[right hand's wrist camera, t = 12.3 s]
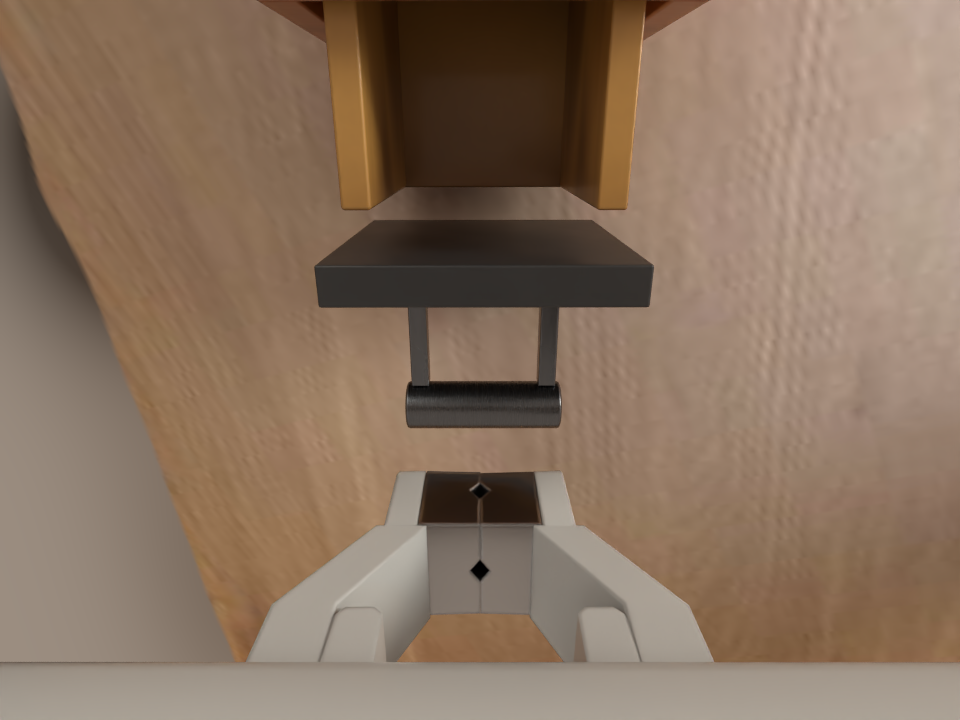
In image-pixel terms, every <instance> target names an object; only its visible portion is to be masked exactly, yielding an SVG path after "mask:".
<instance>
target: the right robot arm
mask: <svg viewBox="0 0 960 720" xmlns="http://www.w3.org/2000/svg"><path fill="white" fill-rule="evenodd" d="M474 613H484V614H520V615H530V618H531V619H532V621H533V622H534V623H535V625H536V626H537V627H538V629H539V630H540V631H541V632H542V634H543V635H544V636H545V638H546V639H547V640H548V642H549V643H550V644H551V646H552V647H553V648H554V650H555V651H556V652H557V653H558V655H559V656H560V657H561V659H562V660H563V661H564V662H397V660H398V659H399V658H400V657H401V655H402V654H403V653H404V651H405V650H406V649H407V647H408V646H409V645H410V643H411V642H412V641H413V640H414V638H415V637H416V636H417V634H418V633H419V632H420V630H421V629H422V628H423V626H424V625H425V624H426V623H427V621H428V620H429V619H430V615H440V614H474ZM0 720H960V662H714V660H713V658H712V656H711V653H710V651H709V649H708V647H707V644H706V642H705V640H704V638H703V636H702V633H701V631H700V629H699V627H698V624H697V622H696V620H695V618H694V615H693V613H692V611H691V609H690V607H689V605H688V604H687V603H685V602H684V601H683V600H681V599H680V598H679V597H677V596H676V595H675V594H673V593H672V592H671V591H669V590H668V589H667V588H666V587H664V586H663V585H662V584H660V583H659V582H658V581H656V580H655V579H654V578H652V577H651V576H650V575H648V574H647V573H646V572H644V571H643V570H642V569H640V568H639V567H638V566H637V565H635V564H634V563H633V562H631V561H630V560H629V559H627V558H626V557H625V556H623V555H622V554H621V553H619V552H618V551H617V550H615V549H614V548H613V547H611V546H610V545H609V544H608V543H606V542H605V541H604V540H602V539H601V538H600V537H598V536H597V535H596V534H594V533H593V532H592V531H590V530H589V529H588V528H586V527H585V526H583V525H576V524H575V520H574V516H573V512H572V508H571V505H570V501H569V497H568V493H567V489H566V485H565V481H564V477H563V473H562V472H561V471H538V472H508V473H480V472H439V471H427V473H426V472H425V471H400V472H399V473H398V474H397V476H396V480H395V484H394V488H393V492H392V496H391V500H390V504H389V508H388V512H387V516H386V520H385V524H384V525H377V526H375V527H374V528H372V529H371V530H370V531H368V532H367V533H366V534H364V535H363V536H362V537H360V538H359V539H358V540H356V541H355V542H354V543H352V544H351V545H350V546H348V547H347V548H346V549H344V550H343V551H342V552H341V553H339V554H338V555H337V556H335V557H334V558H333V559H331V560H330V561H329V562H327V563H326V564H325V565H323V566H322V567H321V568H319V569H318V570H317V571H315V572H314V573H313V574H311V575H310V576H309V577H307V578H306V579H305V580H303V581H302V582H301V583H299V584H298V585H297V586H295V587H294V588H293V589H291V590H290V591H289V592H287V593H286V594H285V595H284V596H282V597H281V598H280V599H278V600H277V601H276V602H274V603H273V604H272V605H271V607H270V609H269V612H268V614H267V616H266V618H265V620H264V623H263V625H262V627H261V629H260V631H259V634H258V636H257V638H256V640H255V642H254V645H253V647H252V649H251V651H250V653H249V656H248V658H247V660H246V662H0Z"/></svg>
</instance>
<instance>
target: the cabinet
mask: <svg viewBox="0 0 960 720" xmlns="http://www.w3.org/2000/svg"><path fill="white" fill-rule="evenodd" d="M257 1H259V2H261V3H262V4H264V5H266V6H267V7H269V8H270V9H272V10H274V11H275V12H277V13H278V14H280V15H282V16H283V17H285V18H287V19H288V20H290V21H291V22H293V23H295V24H296V25H298V26H299V27H301V28H303V29H304V30H306V31H308V32H309V33H311V34H312V35H314V36H316V37H317V38H319V39H321V40H322V41H324V42H325V43H326V33H325V22H324V11H323V1H580V0H257ZM708 1H709V0H647V1H646V12H645V22H644V33H643V40H645V39H646V38H648V37H650V36H651V35H653V34H655V33H656V32H658V31H660V30H661V29H663V28H665V27H666V26H668V25H670V24H671V23H673V22H674V21H676V20H678V19H679V18H681V17H683V16H684V15H686V14H688V13H689V12H691V11H693V10H694V9H696V8H698V7H699V6H701V5H703V4H704V3H706V2H708Z"/></svg>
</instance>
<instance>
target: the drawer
mask: <svg viewBox="0 0 960 720" xmlns="http://www.w3.org/2000/svg"><path fill="white" fill-rule="evenodd" d="M646 1H647V0H580V1H323V11H324V22H325V33H326V44H327V55H328V66H329V77H330V88H331V99H332V110H333V121H334V132H335V143H336V154H337V165H338V176H339V188H340V199H341V207H342V209H343V210H370V209H371V208H373V207H374V206H376V205H378V204H379V203H381V202H382V201H384V200H385V199H387V198H389V197H390V196H392V195H393V194H395V193H396V192H398V191H399V190H401V189H403V188H404V187H562V188H564V189H565V190H567V191H569V192H570V193H572V194H574V195H575V196H577V197H579V198H580V199H582V200H584V201H585V202H587V203H588V204H590V205H592V206H593V207H595V208H597V209H599V210H625V209H627V205H628V194H629V183H630V173H631V162H632V151H633V140H634V130H635V119H636V108H637V97H638V87H639V76H640V65H641V54H642V44H643V33H644V22H645V12H646ZM314 268H315V277H316V286H317V295H318V303H319V307H321V308H353V307H408V318H409V338H410V357H411V377H412V381H410V382H409V383H408V385H407V389H406V403H405V409H406V422H407V425H408V427H409V428H558V427H559V425H560V422H561V413H562V400H561V389H560V385H559V383H558V382H557V381H555V377H556V358H557V339H558V321H559V307H649V305H650V297H651V288H652V280H653V271H654V266H653V265H652V264H651V263H650V262H648V261H647V260H646V259H644V258H643V257H642V256H640V255H639V254H637V253H636V252H635V251H633V250H632V249H631V248H629V247H628V246H627V245H625V244H624V243H622V242H621V241H620V240H618V239H617V238H616V237H614V236H613V235H612V234H610V233H609V232H607V231H606V230H605V229H603V228H602V227H601V226H599V225H598V224H597V223H595V222H594V221H592V220H374V221H373V222H371V223H370V224H369V225H367V226H366V227H365V228H363V229H362V230H361V231H359V232H358V233H357V234H356V235H354V236H353V237H352V238H350V239H349V240H348V241H346V242H345V243H344V244H343V245H341V246H340V247H339V248H337V249H336V250H335V251H333V252H332V253H331V254H330V255H328V256H327V257H326V258H324V259H323V260H322V261H320V262H319V263H318V264H317V265H315V267H314ZM428 307H539V331H538V357H537V381H430V359H429V332H428Z"/></svg>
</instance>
